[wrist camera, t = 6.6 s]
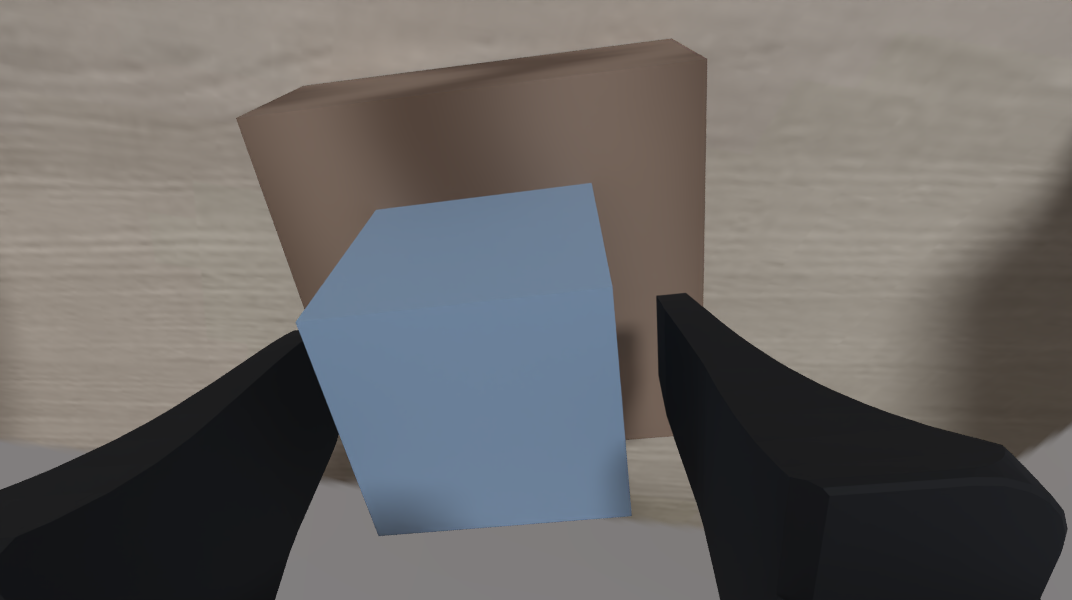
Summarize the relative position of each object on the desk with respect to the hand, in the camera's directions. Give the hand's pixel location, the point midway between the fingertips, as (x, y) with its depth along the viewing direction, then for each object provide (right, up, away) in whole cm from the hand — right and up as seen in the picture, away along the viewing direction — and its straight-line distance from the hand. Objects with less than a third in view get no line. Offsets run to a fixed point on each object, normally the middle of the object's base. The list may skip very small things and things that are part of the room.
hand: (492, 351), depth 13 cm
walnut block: (0, +3, +6) cm, 6 cm away
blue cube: (0, +1, +2) cm, 2 cm away
